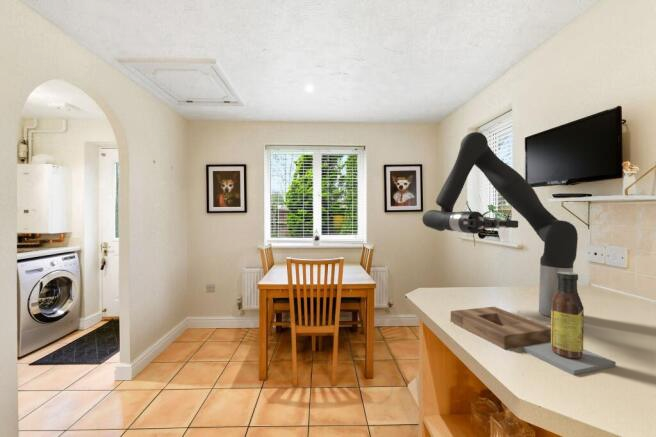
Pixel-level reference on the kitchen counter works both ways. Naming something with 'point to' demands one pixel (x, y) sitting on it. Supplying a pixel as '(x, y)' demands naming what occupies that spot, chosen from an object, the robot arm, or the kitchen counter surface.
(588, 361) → the grey mat
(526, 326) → the seat block
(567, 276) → the sauce bottle
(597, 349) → the kitchen counter surface
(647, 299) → the kitchen counter surface
